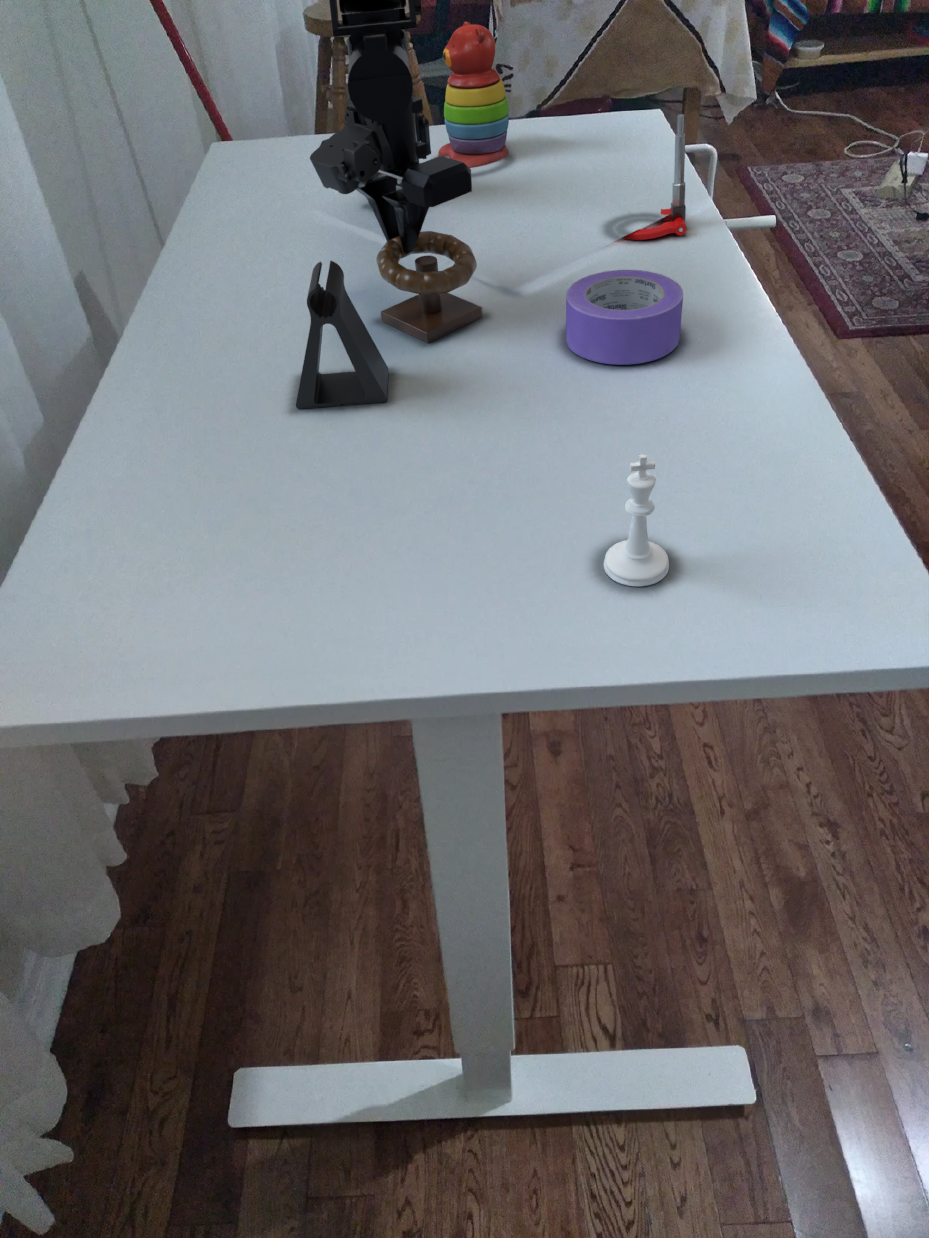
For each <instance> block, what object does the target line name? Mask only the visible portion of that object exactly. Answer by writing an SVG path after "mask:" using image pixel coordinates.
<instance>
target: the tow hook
mask: <svg viewBox="0 0 929 1238" xmlns="http://www.w3.org/2000/svg"><path fill="white" fill-rule="evenodd" d="M676 123H677V124H676V125H677V126H676V132H677V133H675V135H674V136H675V137H674V166H673V167H674V168H673V169H674V170H673V171H674V172H673V182H672V189H671V190H672V192H671V193H672V194H671V202H670V208H665V209H664V208H661V209H660V215H662V216H664V217H662V218H660V219H659V220H660V221H663V223H662V224H660V225H657V226H654V227H650V228H639V229H636V230H635V231H631V232H630V233H628V234H626V235H623V236H622V237H621V239H625V240H633V241H638V240H640V241H641V240H642V241H643V240H652V239H657V238H662V237H663V236H667V235H668V234H676V235H677V236H684V235H685V234H686V233H687V231H688V228H687V225H686V224H687V223H686V215H687V214H686V211H687V207H686V182H685V161H686V160H685V158H686V133H685V114H683V113H680V114H677V121H676ZM664 221H665V222H664Z"/></svg>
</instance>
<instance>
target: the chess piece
mask: <svg viewBox="0 0 929 1238" xmlns="http://www.w3.org/2000/svg"><path fill="white" fill-rule="evenodd" d="M655 469H656V462H655V460H648V456H647V454H646V453H641V454H639V455H638V461H636V462H629V470H630V472H631V473H630V474H629V475H628V476H627V478H626V479H627V480H626V482H627V486H628V488H629V490H630V495H631V498H629V499H628V500H627V501H626V503H625V505H624V510H625V511H626V512H627V514H629V515H631V521H630V526H629V531H628V536H627V539H625V540H622V541H618V542H617V543H615V544H613V545H612V546H610V548H608V550H607V551H606V553H605V556H604V560H603V570H604V572H605V573H606V575H607V576H608V577H609V578H610V579H611V580H613V581H614V582H615V583H616V582H617V584H621V585H624V586H628V587H647V586H651V585H654V584H657V583H659V582H661V581H662V580H664V578H665V577H666V576H667V575H668V572H669V568H670V564H669V556H668V554H667V552H666V551H665V549H664V548H663V547H661V545H658V544H657V543H655V542H653V541H649V537H648V536H649V535H648V526H647V525H648V524H647V523H648V522H647V517H648V516H650V515H652V514H653V513H654V512H655V510H656V509H655V508H656V506H655V503H654V501H653V500H652V499H650V496H651V494H652V491H653V490H654V488H655V486H656V482H657V478H656V477H655V476H654V474H652V473H651V472H648V471H650V470H655Z"/></svg>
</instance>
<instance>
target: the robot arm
mask: <svg viewBox="0 0 929 1238" xmlns="http://www.w3.org/2000/svg"><path fill="white" fill-rule="evenodd" d="M328 2H329V11H330V20H331V28H332V35H333V36H332V37H333V38H335V37H346V36H348V38H347V39H346V46H347V54H348V66H347V67H348V70H347V91H348V96H349V99H350V101H351V104H347V105H346V111H345V112H344V113H345V121H346V122H345V123H346V124H345V126H344V127H343V128H341V129H340V130H338V131H336V132H335V133H333V134H332V135H331V136H330V137H329V138H327V139H323V140H322V141H321V143H320V145H319V147H317V149H315V150H314V151H313V152H312V153H311V154H310V156H309V160H310V162H311V164H312V166H313V167H314V168H313V169H314V170H315V172H316V174H317V176H318V178H319V180H320V182H321V184H322V186H323V187H324V188H325V189H331V190H334V191H337V192H338V193H339V194H341V195H349V194H351V193H353V192H355V191H357V192H358V193H360V194H361V195H362V196H364V197H365V198H366V200H367V202H368V204H369V205H370V208H371V210H372V212H373V213H374V214H373V215H374V216H375V218H376V220H377V223H378V225H379V227H380V229H381V231H382V234H383V236H384V238H385V240H386V242H387V241H389V240H391V239H393V238H395V237H398V236H400V240H401V244H402V247H403V251H404V253H406V254H408V253H410V252H413V250H414V248H415V245H416V242H417V240H418V237H419V234H420V232H422V231H421V230H422V227H423V226H424V222H425V219H426V217H427V214H428V211H429V209H430V208H435V207H437V206H439V205H442V204H445V203H447V202H450V201H451V200H454V199H457V198H459V197H462V196H464V195H467V194H469V193H472V192H473V180H472V168H469V167H468V166H467V165H466V164H465V163H464V162H460V161H457V160H454V159H450V158H449V157H447V156H445V157H444V156H437V157H433V158H431V159H427V157H428V156H430V155H432V149H431V136H430V122H429V119H428V118H427V117H426V116H425V113H423V111H424V105H423V99H422V98H419V97H416V91H415V89H414V84H413V77H412V68H411V63H410V55H409V54H410V53H409V43H408V34H407V33H406V32H405V31H406V30H415V29H418V24H417V16H422V15H423V11H422V9H423V8H422V0H328ZM407 3H408V14H407V15H406V6H407ZM338 5H339V8H338ZM339 12H340V13H341V15H340V16H341V21H339V20H340V19H339ZM421 159H422V160H426V161H423V162H420V160H421Z"/></svg>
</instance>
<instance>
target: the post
mask: <svg viewBox="0 0 929 1238" xmlns="http://www.w3.org/2000/svg"><path fill="white" fill-rule="evenodd" d="M438 263H439V262H438V258H437V257H436V256H434V255H421V256H419V257H417V258H416V259H414V267H415V271H420V272H434V271H439V264H438ZM481 318H483V307H482V306H480V305H479V304H475V303H473V302H471V301H468V300H466V299H463V298H462V297H459V296H456V295H454V294H452V293H451V292H448V293H440V294H428V295H421V294H416V295H414V296H411V297H410V298H407V299H405V300H402V301H400V302H399V303H398V302H397V303H396V304H394V305H391V306H390V307H387V308H385V309H383V310H381V311H380V319H381V322H383V323H385V324H387V325H389V326H390V327H393V328H395V329H397V330H399V331H401V332H402V333H403V332H404V333H406V334H408V335H409V336H412V337H414V338H416V339H418V340H420V341H422V342H425V343H427V344H429V343H432V342H434V341H435V340H437V339H439V338H441V337H444V336H446V335H448V334H450V333H452V332H454V331H456V330H458V329H460V328H462V327H465V326H466V325H468V324H471V323H473V322H475V321H477V320H479V319H481Z"/></svg>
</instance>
